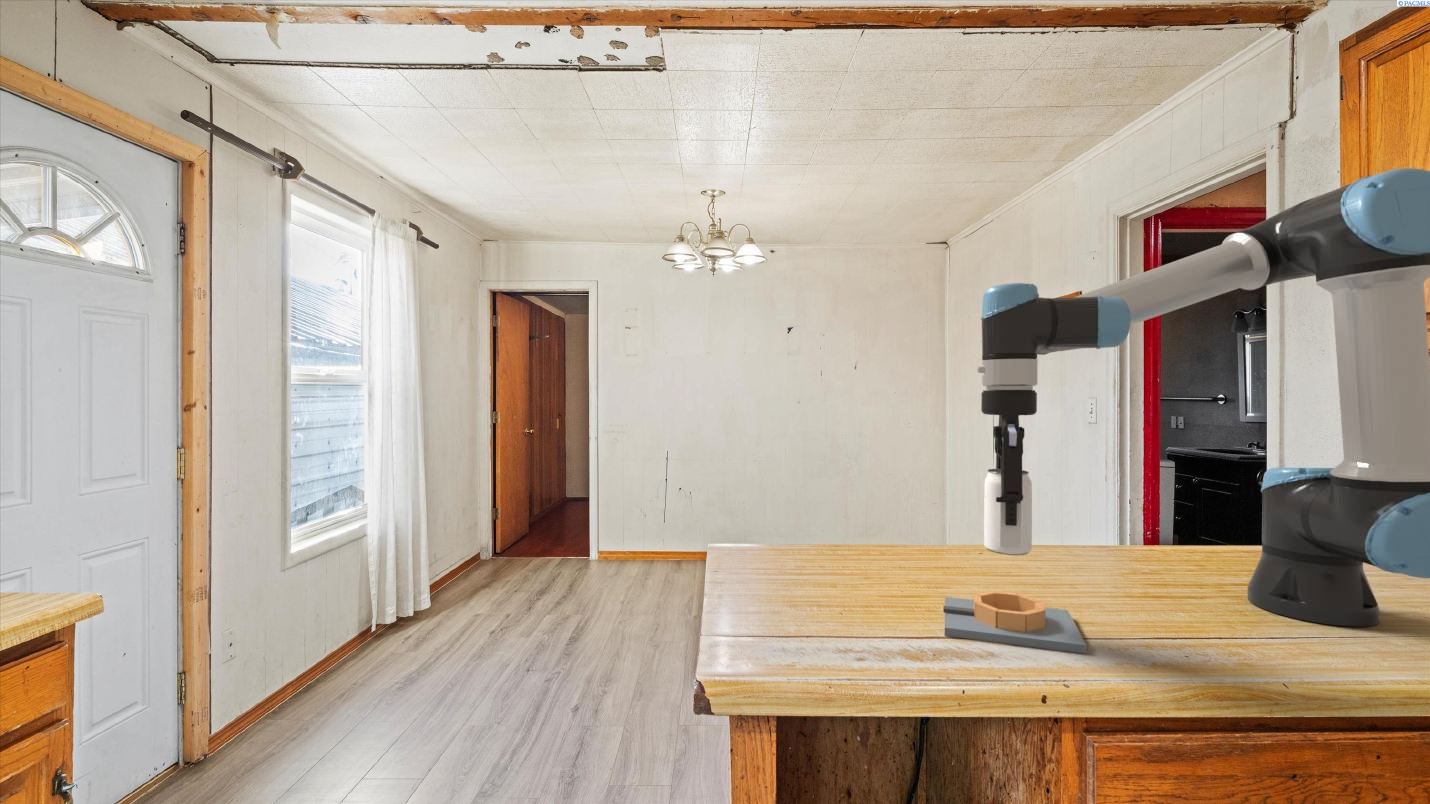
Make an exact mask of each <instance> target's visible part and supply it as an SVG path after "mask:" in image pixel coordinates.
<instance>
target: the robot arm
mask: <svg viewBox="0 0 1430 804" xmlns="http://www.w3.org/2000/svg"><path fill="white" fill-rule="evenodd" d="M1314 276H1315V282H1316V283H1315V284H1316V286H1318V287H1320V288H1322V289H1324V290H1325V291H1327V292H1328V293H1330V294H1331V298H1332V307H1333V308H1332V310H1333V321H1334V337H1335V338H1334V339H1335V353H1336V364H1337V365H1336V366H1337V380H1338V382H1337V383H1338V391H1339V392H1338V394H1339V406H1340V408H1339V409H1340V421H1341V422H1340V423H1341V434H1342V435H1341V437H1342V451H1343V460H1342V461H1341V462H1340V463H1339V464H1337V465H1336V466H1335V467H1272V468H1269V469H1267V470H1266V471H1265V472H1264V474H1263V478H1262V485H1261V488H1260V492H1261V494H1262V495H1261V496H1262V499H1261V501H1262V502H1261V503H1262V505H1261V506H1262V507H1261V508H1262V509H1261V510H1262V512H1261V515H1262V517H1261V520H1262V521H1261V557H1260V559H1259V561H1258V563H1257V565H1256V568H1255V569H1254V570H1253V571H1254V572H1253V574H1252V577H1251V578H1250V579H1249V583H1248V585H1247V600H1248V601H1249V602H1250V603H1251V604H1253V605H1254V606H1255V607H1259V608H1261V609H1263V610H1266V611H1268V612H1272V613H1274V614H1278V615H1281V616H1285V617H1289V618H1293V619H1297V620H1302V621H1306V622H1307V621H1308V622H1311V623H1317V624H1324V625H1331V626H1341V627H1357V628H1358V627H1373V626H1375V625H1378V624H1379V623H1380V607H1379V604H1378V602H1377V600H1376V597H1375V595H1374V592H1373V589H1372V587H1371V585H1370V583H1369V580H1368V578H1367V575H1366V573H1365V571H1364V564H1367V565H1370V566H1372V567H1376V568H1378V569H1380V570H1381V571H1385V572H1388V573H1392V574H1398V575H1399V574H1401V575H1405V576H1410V577H1414V578H1419V579H1420V578H1421V579H1430V352H1429V350H1430V349H1429V340H1428V339H1429V338H1428V337H1429V336H1428V325H1427V322H1428V321H1427V311H1426V310H1427V309H1426V308H1427V307H1426V297H1425V283H1426V281H1427V280H1428V279H1429V278H1430V170H1426V169H1423V168H1412V167H1408V168H1407V167H1406V168H1403V167H1401V168H1397V169H1392V170H1391V169H1390V170H1387V171H1385V172H1381V173H1377V174H1374V175H1369V176H1364V177H1361V178H1360V179H1357V180H1356V181H1354V182H1352V183H1350V184H1346V185H1344V186H1341V187H1340V188H1336V189H1334V190H1332V191H1329V192H1326V193H1324V194H1320V195H1318V196H1315V197H1312V198H1309V199H1307V200H1304V201H1301V202H1299V203H1297V204H1295V205H1292V206H1290V207H1288V208H1287V209H1284V210H1283V211H1280V212H1278V213H1277V214H1275V215H1273V216H1271V217H1269V218H1267V219H1265V220H1263V221H1260V222H1258V223H1256V224H1254V225H1252V226H1250V227H1247V228H1245V229H1242V230H1239V231H1237V232H1234V233H1232V234H1229V235H1228V236H1226V237H1225V239H1224V240H1222V243H1221V244H1220V245H1219V244H1218V245H1217V246H1213V247H1211V248H1208V249H1205V250H1202V251H1200V252H1196V253H1194V254H1192V255H1189V256H1185V257H1183V258H1180V259H1177V260H1175V261H1172V262H1169V263H1166V264H1163V265H1161V266H1158V267H1155V268H1153V269H1150V270H1147V271H1144V272H1141V273H1139V274H1136V275H1132V276H1130V277H1128V278H1123V279H1122V280H1119V281H1117V282H1113V283H1110V284H1107V285H1105V286H1103V287H1100V288H1096V289H1094V290H1091V291H1088V292H1085V293H1082V294H1080V295H1077V296H1074V297H1055V298H1054V297H1053V298H1052V297H1051V298H1050V297H1042V296H1041V297H1040V294H1039V292H1038V291H1039V289H1038V287H1037V286H1036V284H1033V283H1029V282H1028V283H1022V282H1015V283H1014V282H1012V283H1002V284H997V285H994V286H991V287H989V288H987V289H986V290H985V291H984V293H983V295H982V305H981V307H982V308H981V317H980V320H981V347H982V349H981V351H982V356H981V360H982V361H981V364H982V366H978V367H977V373H978V374H983V375H982V376H981V385H982V387H986V390H983V391H982V392H981V409H980V410H981V411H980V412H981V413H982V414H983V415H987V416H988V415H991V416H998V425H996V426H993V431H992V432H993V433H992V434H993V438H994V452H995V455H996V457H995V462H996V463H995V469H1001V497H996V502H1000V546H1001V547H1014V548H1021V501H1022V500H1023V495H1022V470H1023V455H1024V441H1023V440H1024V439H1025V428H1024V427H1022V426H1020V417H1019V416H1033V415H1036V413H1037V411H1038V410H1037V409H1038V408H1037V407H1038V406H1037V405H1038V392H1036V390H1035V389H1034V387H1035V386H1037V385H1038V367H1039V366H1038V356H1044V355H1048V354H1051V353H1056V352H1066V351H1071V350H1080V349H1096V350H1100V349H1106V348H1117V347H1119V346H1121V345H1123V344H1124V342H1125V341H1126V339H1128V335H1129V334H1130V329H1131V326H1133V325H1135V324H1138V323H1141V322H1145V321H1147V320H1150V319H1154V318H1156V317H1159V316H1162V315H1164V314H1167V313H1170V312H1173V311H1177V310H1178V309H1182V308H1185V307H1188V306H1191V305H1194V304H1196V303H1197V304H1198V303H1199V302H1203V301H1206V300H1209V299H1212V298H1214V297H1216V296H1220V295H1223V294H1226V293H1228V292H1229V293H1230V292H1232V291H1234V290H1238V289H1242V290H1247V291H1253V290H1256V289H1259V288H1262V287H1265V286H1269V285H1273V284H1276V283H1281V282H1285V281H1291V280H1296V279H1303V278H1308V277H1314Z"/></svg>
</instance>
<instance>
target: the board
mask: <svg viewBox="0 0 1430 804" xmlns="http://www.w3.org/2000/svg"><path fill="white" fill-rule="evenodd" d="M943 613H944V636H946V637H952V638H959V639H960V638H961V639H966V640H967V639H968V640H977V641H983V642H990V643H991V642H992V643H999V644H1005V645H1006V644H1007V645H1013V646H1022V647H1029V648H1038V649H1045V650H1052V651H1053V650H1054V651H1059V652H1060V651H1062V652H1066V653H1067V652H1068V653H1069V652H1070V653H1075V654H1076V653H1077V654H1083V655H1086V654H1087V644H1086V642H1085V640H1084V638H1083V636H1082V634H1081V633H1080V630H1079V628H1078V627H1077V625H1076V623H1075V621H1074V620H1073V618H1072V615H1071V614H1070V611H1069V610H1068V609H1062V608H1052V607H1045V606H1044V604H1043V602H1042V601H1041V600H1039V599H1035V598H1033V597H1030V596H1027V595H1025V594H1021V593H1017V592H1016V593H1015V592H1005V591H996V590H990V591H986V592H985V591H984V592H979V593H975V594H973V599H969V598H968V599H967V598H959V597H951V596H945V597H944V605H943Z"/></svg>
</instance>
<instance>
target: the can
mask: <svg viewBox="0 0 1430 804" xmlns="http://www.w3.org/2000/svg"><path fill="white" fill-rule="evenodd" d="M1029 474H1030V473H1029V471H1027V470H1023V469H1022V495H1023V500H1022V501H1021V548H1014V547H1001V546H1000V502H996V497H1001V469H996V468H990V469H988V470H987V475H986V477H985V479H984V487H983V488H984V490H983V491H984V493H983V494H984V498H983V499H984V501H983V503H984V504H983V505H984V506H983V511H984V512H983V546H984V547H985V549H986V550H987V551H989V552H992V553H996V554H999V555H1006V556H1025V555H1028V554H1029V553H1030V552H1031V551H1032V545H1033V544H1032V540H1033V539H1032V538H1033V533H1032V532H1033V531H1032V530H1033V529H1032V528H1033V524H1032V523H1033V520H1032V519H1033V508H1032V507H1033V487H1032V486H1033V484H1032V480H1031V479H1030V478H1031V477H1030V476H1029Z"/></svg>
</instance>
